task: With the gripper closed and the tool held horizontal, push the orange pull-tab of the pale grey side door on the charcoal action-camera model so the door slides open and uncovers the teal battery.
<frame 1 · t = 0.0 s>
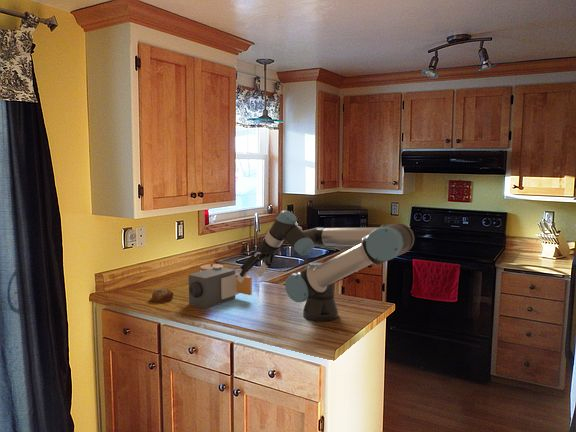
hand: (249, 277, 216), 15 cm above the table, tool tilted 35°, fingers open, 13 cm apart
bread roll: (162, 299, 235), on the table
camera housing: (211, 300, 233), on the table
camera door: (236, 287, 230), point 7 cm above the table, slide at 0.0 cm
lidded bowl: (211, 283, 265), on the table
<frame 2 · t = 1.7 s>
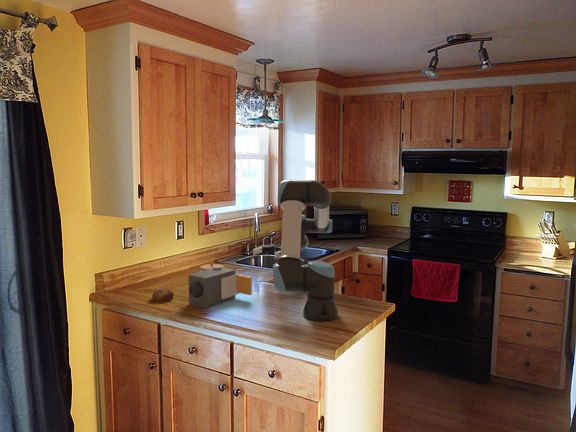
hand: (264, 253, 242), 21 cm above the table, tool horizontal, fingers open, 13 cm apart
nothing on the table moved.
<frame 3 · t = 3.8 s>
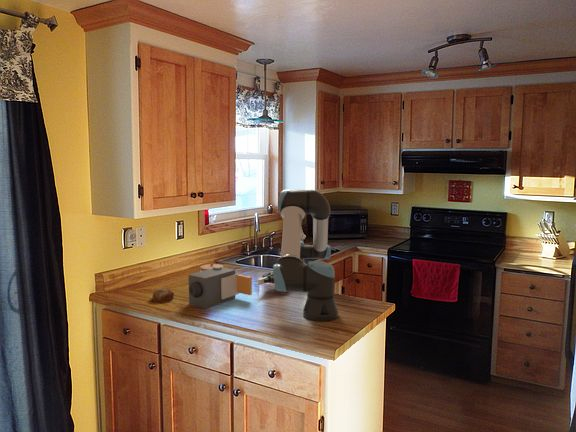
hand: (258, 282, 240), 7 cm above the table, tool horizontal, fingers closed
nothing on the table moved.
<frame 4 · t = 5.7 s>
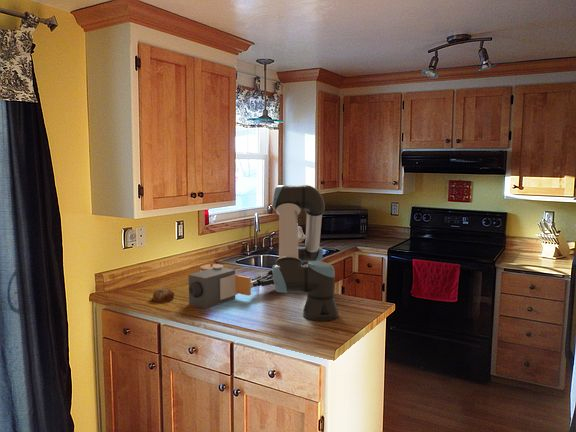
hand: (247, 285, 233), 7 cm above the table, tool horizontal, fingers closed
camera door: (235, 287, 230), point 7 cm above the table, slide at 0.8 cm, touching gripper
everything else where it was.
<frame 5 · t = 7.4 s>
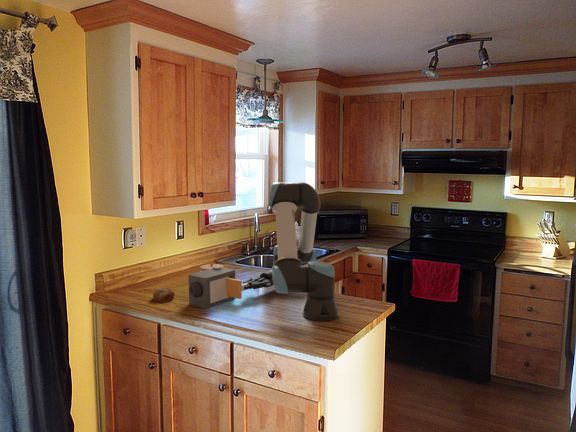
hand: (238, 289, 228), 7 cm above the table, tool horizontal, fingers closed
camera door: (225, 291, 224), point 7 cm above the table, slide at 7.4 cm, touching gripper
everything else where it was.
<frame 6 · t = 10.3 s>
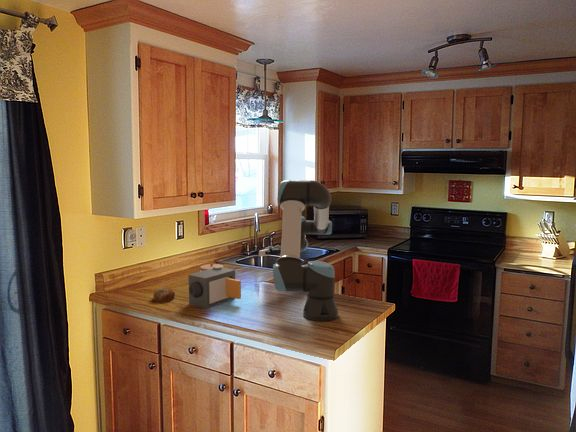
hand: (260, 253, 240), 21 cm above the table, tool horizontal, fingers closed
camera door: (225, 291, 224), point 7 cm above the table, slide at 7.9 cm
everything else where it was.
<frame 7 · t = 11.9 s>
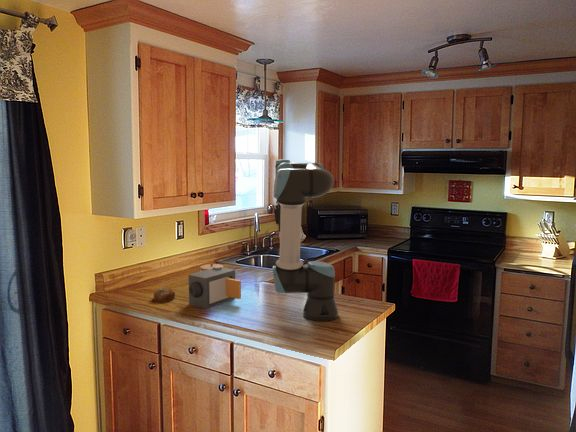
hand: (282, 238, 245), 28 cm above the table, tool pointing down, fingers closed
nothing on the table moved.
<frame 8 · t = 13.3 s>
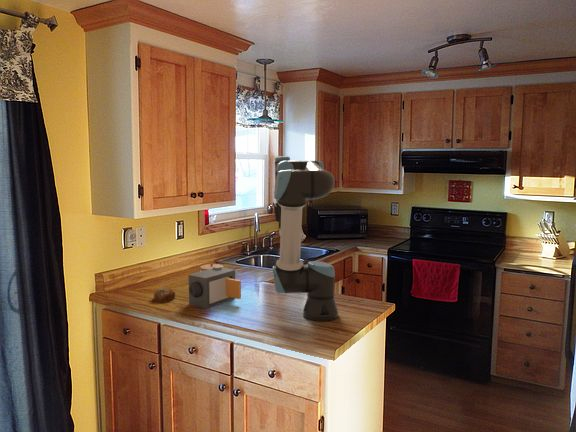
hand: (282, 234, 245), 29 cm above the table, tool pointing down, fingers closed
nothing on the table moved.
at the end: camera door slide at 7.9 cm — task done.
